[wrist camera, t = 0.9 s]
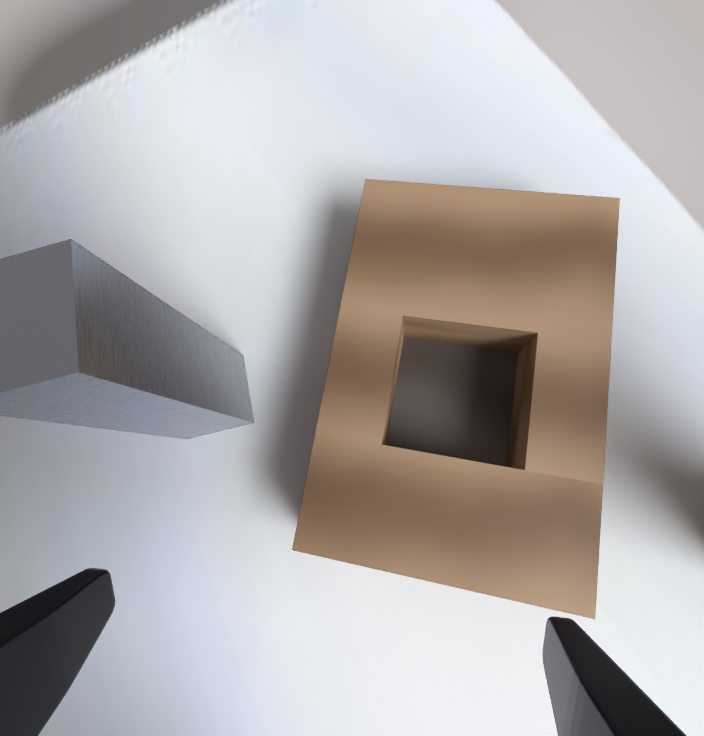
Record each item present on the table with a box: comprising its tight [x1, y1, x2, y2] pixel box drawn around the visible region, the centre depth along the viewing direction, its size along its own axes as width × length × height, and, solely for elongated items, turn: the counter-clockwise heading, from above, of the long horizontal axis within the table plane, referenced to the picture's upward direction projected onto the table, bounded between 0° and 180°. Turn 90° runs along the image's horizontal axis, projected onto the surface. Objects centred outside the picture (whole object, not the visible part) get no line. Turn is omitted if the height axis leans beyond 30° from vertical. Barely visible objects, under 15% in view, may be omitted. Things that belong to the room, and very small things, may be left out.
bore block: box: [292, 179, 620, 619], centre depth 21 cm, size 18×12×4 cm, turn 170°
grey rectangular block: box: [0, 239, 254, 439], centre depth 18 cm, size 4×4×13 cm
